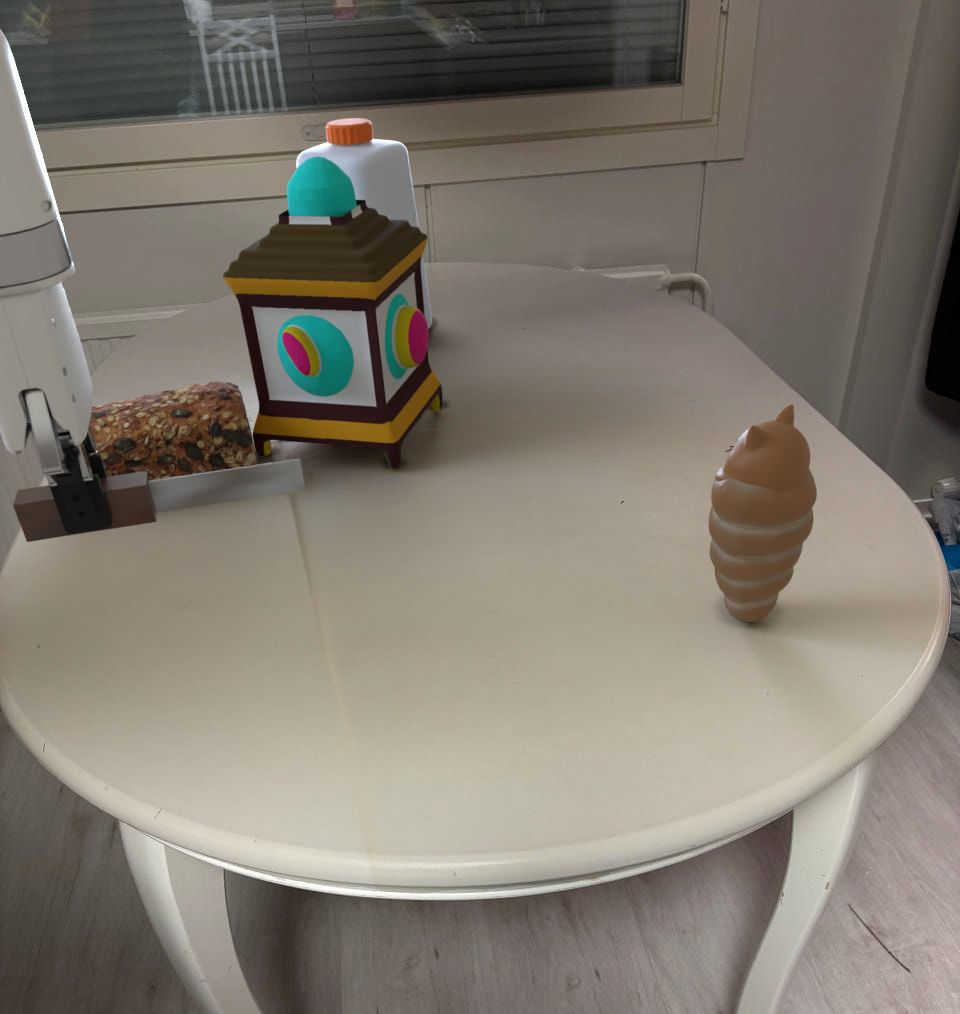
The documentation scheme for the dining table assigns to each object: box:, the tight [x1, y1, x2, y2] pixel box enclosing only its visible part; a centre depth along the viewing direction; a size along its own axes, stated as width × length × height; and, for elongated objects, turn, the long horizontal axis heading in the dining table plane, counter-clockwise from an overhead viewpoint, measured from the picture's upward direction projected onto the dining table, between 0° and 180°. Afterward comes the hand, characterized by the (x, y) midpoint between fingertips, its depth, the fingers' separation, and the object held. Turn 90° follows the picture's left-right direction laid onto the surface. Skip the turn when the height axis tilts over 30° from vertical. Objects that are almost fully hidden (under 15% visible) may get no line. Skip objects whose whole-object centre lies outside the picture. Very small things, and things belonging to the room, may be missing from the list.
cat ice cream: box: [708, 404, 818, 623], centre depth 75 cm, size 9×8×18 cm
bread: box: [90, 380, 258, 480], centre depth 102 cm, size 19×11×10 cm, turn 107°
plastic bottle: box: [295, 117, 433, 330], centre depth 132 cm, size 15×15×28 cm
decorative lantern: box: [222, 156, 444, 471], centre depth 105 cm, size 20×20×30 cm
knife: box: [12, 458, 306, 543], centre depth 70 cm, size 20×2×3 cm, turn 104°
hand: (91, 516), depth 69 cm, fingers closed on knife, 2 cm apart
